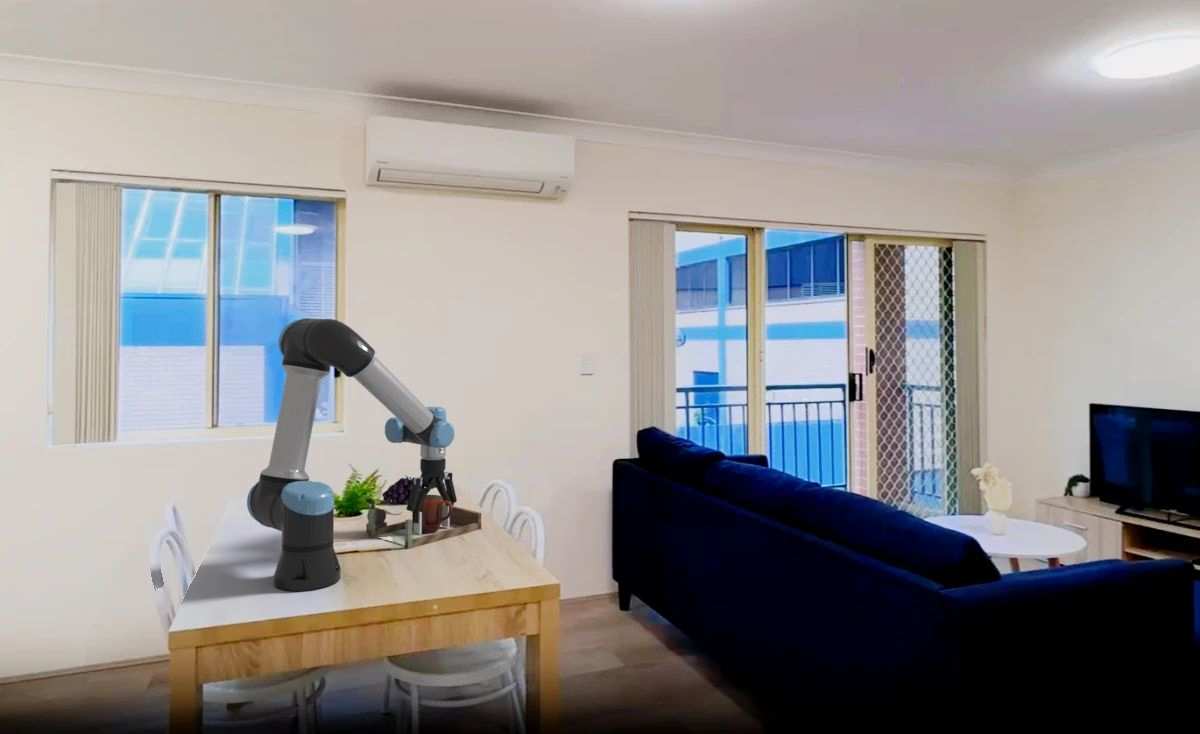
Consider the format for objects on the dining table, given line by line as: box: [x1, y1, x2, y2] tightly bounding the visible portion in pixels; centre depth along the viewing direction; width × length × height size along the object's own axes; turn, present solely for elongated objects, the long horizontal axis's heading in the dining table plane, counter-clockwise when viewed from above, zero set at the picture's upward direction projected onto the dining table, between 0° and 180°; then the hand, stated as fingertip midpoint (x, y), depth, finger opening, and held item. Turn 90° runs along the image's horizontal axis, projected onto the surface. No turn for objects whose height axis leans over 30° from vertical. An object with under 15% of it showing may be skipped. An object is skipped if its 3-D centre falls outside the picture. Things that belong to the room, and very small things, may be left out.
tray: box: [365, 497, 482, 550], centre depth 222 cm, size 28×25×10 cm
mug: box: [419, 494, 452, 534], centre depth 222 cm, size 12×9×10 cm
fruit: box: [382, 474, 412, 505], centre depth 258 cm, size 10×11×15 cm
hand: (431, 529), depth 222 cm, fingers open, 10 cm apart
